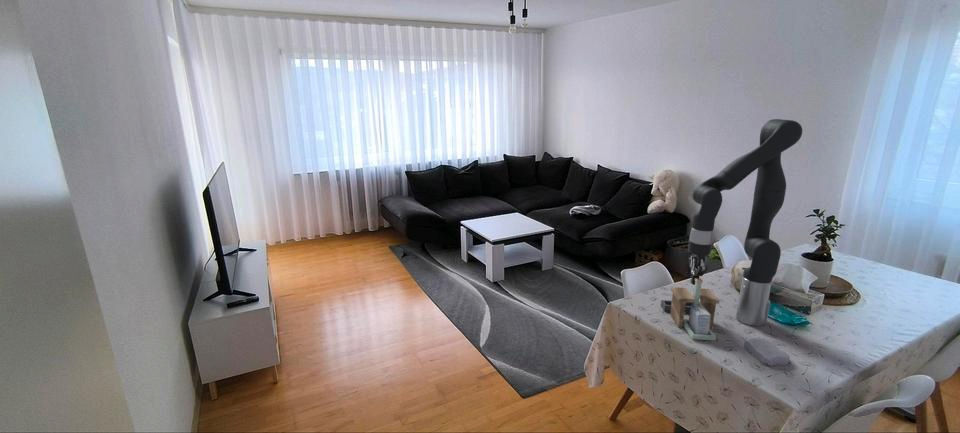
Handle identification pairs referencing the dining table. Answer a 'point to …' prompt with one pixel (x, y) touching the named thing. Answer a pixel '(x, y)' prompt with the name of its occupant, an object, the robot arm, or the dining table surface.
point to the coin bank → (739, 273)
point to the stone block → (766, 351)
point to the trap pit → (667, 306)
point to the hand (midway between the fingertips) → (694, 283)
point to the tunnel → (684, 296)
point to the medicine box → (699, 320)
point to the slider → (685, 321)
